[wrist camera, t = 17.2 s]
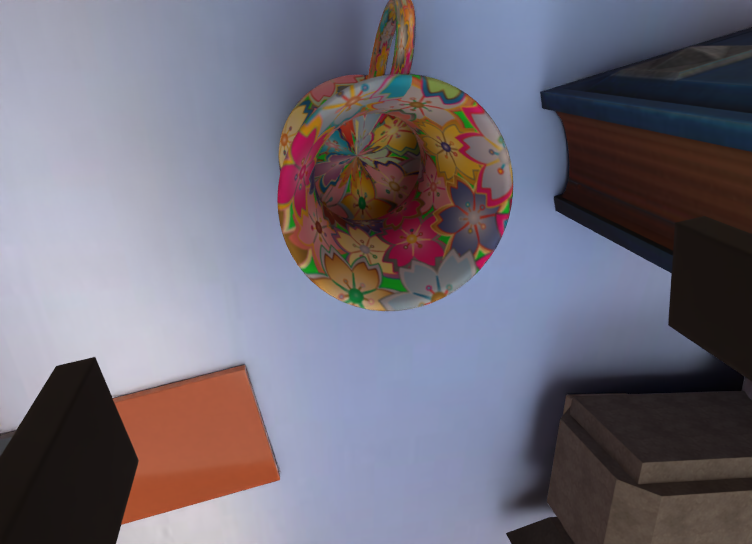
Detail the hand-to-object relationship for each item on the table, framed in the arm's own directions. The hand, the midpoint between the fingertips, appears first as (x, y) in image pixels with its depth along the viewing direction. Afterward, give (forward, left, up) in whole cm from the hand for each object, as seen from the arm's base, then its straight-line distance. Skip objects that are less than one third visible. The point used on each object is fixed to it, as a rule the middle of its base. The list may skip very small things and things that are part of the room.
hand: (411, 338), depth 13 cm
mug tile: (+16, -13, -20) cm, 28 cm away
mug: (-1, +2, -20) cm, 20 cm away
